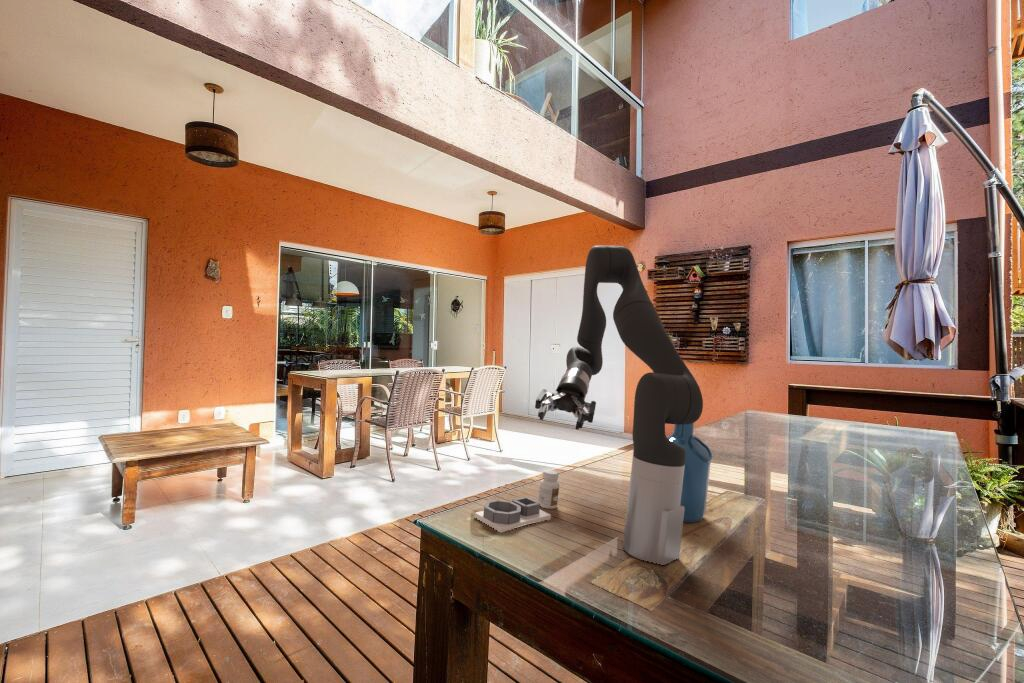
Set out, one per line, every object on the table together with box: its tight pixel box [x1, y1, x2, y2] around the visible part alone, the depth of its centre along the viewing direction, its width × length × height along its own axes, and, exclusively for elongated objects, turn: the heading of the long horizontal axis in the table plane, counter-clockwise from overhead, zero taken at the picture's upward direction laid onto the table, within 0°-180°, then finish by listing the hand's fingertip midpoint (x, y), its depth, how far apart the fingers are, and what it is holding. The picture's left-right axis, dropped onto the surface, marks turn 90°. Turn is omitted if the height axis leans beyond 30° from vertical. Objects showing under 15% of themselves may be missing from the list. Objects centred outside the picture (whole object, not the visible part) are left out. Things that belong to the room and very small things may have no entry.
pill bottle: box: [537, 469, 560, 510], centre depth 102 cm, size 4×4×8 cm
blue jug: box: [666, 422, 713, 523], centre depth 107 cm, size 14×13×30 cm
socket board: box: [474, 496, 552, 534], centre depth 92 cm, size 8×14×3 cm, turn 133°
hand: (559, 421), depth 103 cm, fingers open, 8 cm apart
